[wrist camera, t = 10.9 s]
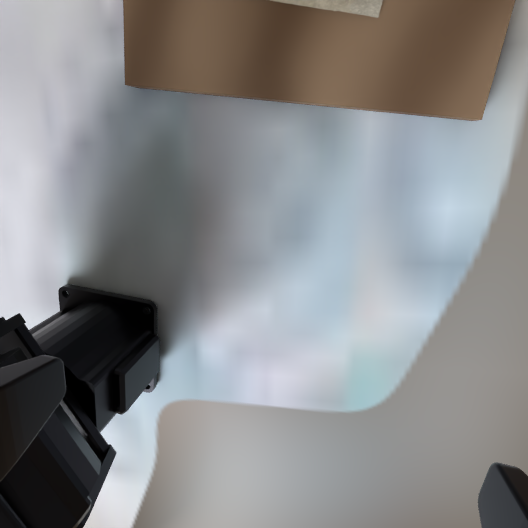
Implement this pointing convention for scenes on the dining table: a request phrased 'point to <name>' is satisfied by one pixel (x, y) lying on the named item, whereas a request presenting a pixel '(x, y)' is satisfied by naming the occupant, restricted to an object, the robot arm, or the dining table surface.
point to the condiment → (342, 5)
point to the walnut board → (321, 53)
